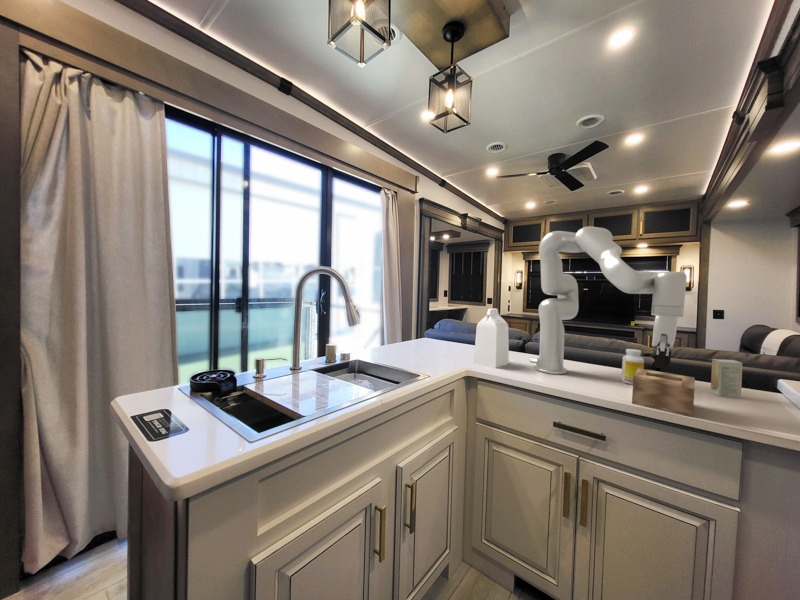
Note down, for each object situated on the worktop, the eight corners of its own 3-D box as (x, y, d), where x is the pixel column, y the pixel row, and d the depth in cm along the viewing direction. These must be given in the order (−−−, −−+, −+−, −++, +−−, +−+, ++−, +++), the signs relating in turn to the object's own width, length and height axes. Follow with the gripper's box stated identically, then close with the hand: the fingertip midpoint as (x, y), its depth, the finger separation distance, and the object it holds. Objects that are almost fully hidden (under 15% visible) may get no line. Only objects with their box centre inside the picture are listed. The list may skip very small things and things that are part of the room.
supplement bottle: (646, 386, 114) (648, 352, 113) (626, 385, 115) (628, 351, 114) (636, 380, 120) (638, 348, 120) (617, 379, 122) (619, 347, 121)
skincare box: (732, 394, 106) (735, 359, 106) (741, 398, 102) (744, 362, 102) (709, 392, 109) (711, 358, 108) (717, 396, 104) (719, 361, 104)
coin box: (631, 403, 97) (633, 375, 96) (636, 393, 106) (638, 368, 105) (692, 417, 87) (694, 386, 87) (692, 405, 96) (694, 377, 95)
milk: (487, 359, 153) (488, 307, 151) (508, 363, 144) (510, 309, 143) (473, 363, 145) (475, 308, 143) (495, 368, 136) (497, 310, 135)
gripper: (654, 308, 104) (650, 358, 105) (648, 311, 91) (644, 367, 93) (684, 310, 99) (679, 362, 100) (682, 314, 86) (677, 373, 87)
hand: (662, 365), depth 96 cm, fingers open, 9 cm apart
